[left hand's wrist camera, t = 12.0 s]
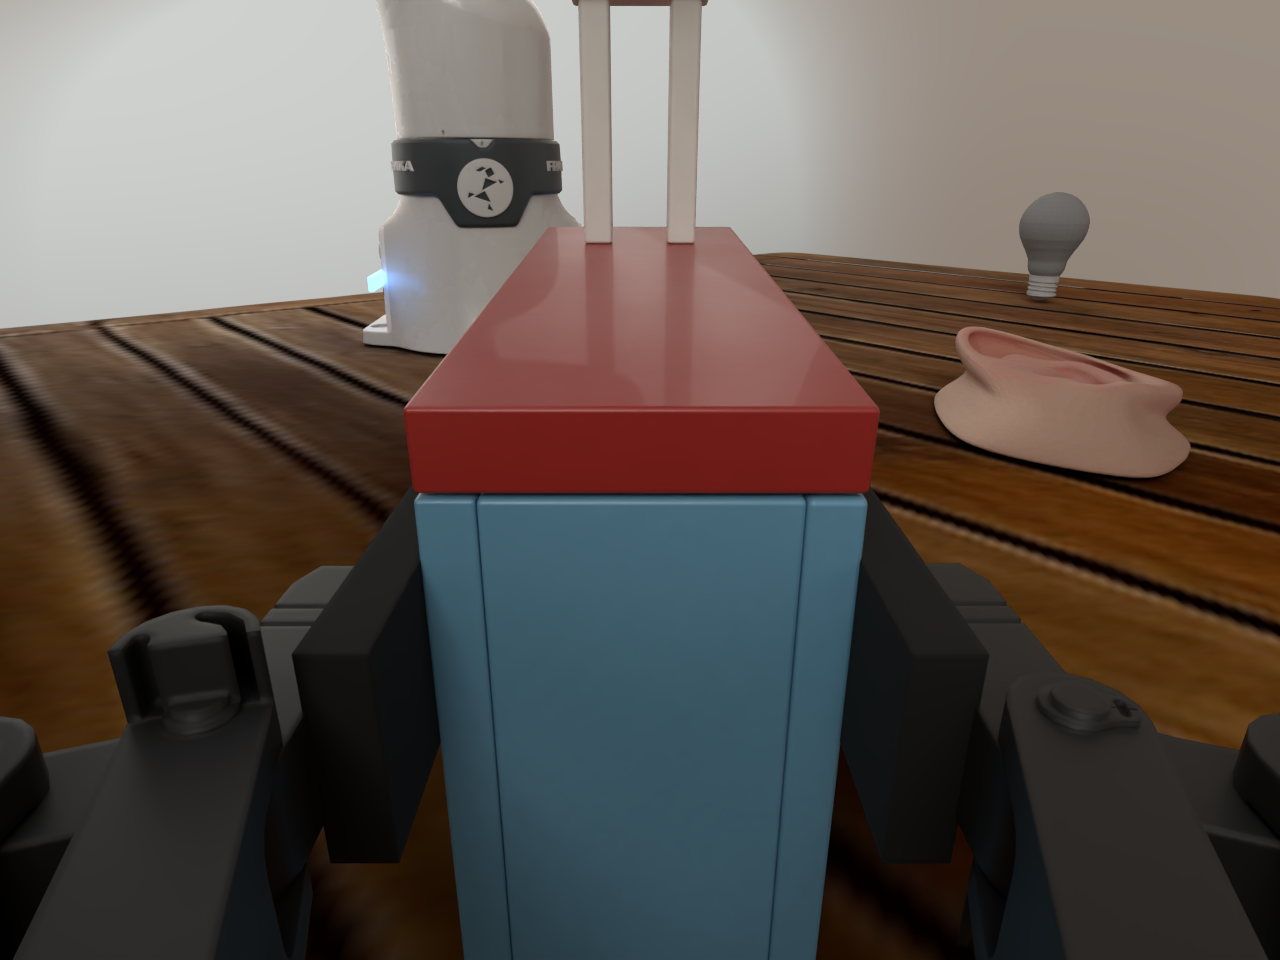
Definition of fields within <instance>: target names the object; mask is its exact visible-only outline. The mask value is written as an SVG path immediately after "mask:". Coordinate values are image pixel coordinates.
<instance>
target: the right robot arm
mask: <svg viewBox="0 0 1280 960" xmlns="http://www.w3.org/2000/svg"><path fill="white" fill-rule="evenodd" d="M374 3H375V6H376V9H377V13H378V16H379V20H380V25H381V29H382V34H383V40H384V46H385V51H386V57H387V64H388V71H389V77H390V84H391V92H392V100H393V108H394V116H395V125H396V134H397V139H398V140H395V141H393V143H392V144H391V145H392V161H391V167H392V171H393V173H394V183H395V191H396V192H397V193H398V194H401V196H400V200H399V203H398V205H397V207H396V210H395V211H394V213H393V214H392V215H391V216H390V217H389V218H388V219H387V220H386V221H385V223H384V225H383V226H381V227H380V228H379V241H380V244H379V254H380V258H381V265H382V269H381V270H379V271H378V272H376V273H374V274H372V275H371V276H369V277H368V278H367V279H368V287H369V292H374V291H376V290H377V289H378V288H380V287H381V286H383V293H384V299H385V310H386V314H385V315H383V316H382V317H381V318H379V319H378V320H376V321H375V322H373V323H372V324H370V325H369V326H368V327H366V328H365V329H364V330H363V343H365V344H371V345H383V346H395V347H401V348H405V349H409V350H414V351H420V352H428V353H438V354H448V353H449V351H450V350H451V349H452V348H453V346H454V345H455V344H456V343H457V341H458V340H459V339H460V338H461V336H462V335H463V334H464V333H465V331H466V330H467V329H468V328H469V326H470V325H471V324H472V323H473V321H474V320H475V319H476V318H477V316H478V315H479V314H480V313H481V311H482V310H483V309H484V308H485V306H486V305H487V304H488V303H489V301H490V300H491V299H492V298H493V296H494V295H495V294H496V293H497V291H498V290H499V289H500V288H501V286H502V285H503V284H504V283H505V281H506V280H507V279H508V278H509V276H510V275H511V274H512V273H513V271H514V270H515V269H516V268H517V266H518V265H519V264H520V263H521V261H522V260H523V259H524V258H525V256H526V255H527V254H528V253H529V251H530V250H531V249H532V248H533V246H534V245H535V244H536V243H537V241H538V240H539V239H540V238H541V236H542V235H543V234H544V233H545V231H546V230H547V229H548V228H549V227H582V226H581V224H580V223H578V222H577V221H576V219H575V218H574V217H572V216H571V215H570V214H569V213H568V212H567V211H566V210H565V208H564V207H563V206H562V204H561V202H560V200H559V197H558V193H560V192H561V191H562V179H561V171H562V170H563V169H562V161H561V159H560V146H559V144H558V143H557V142H556V141H552V140H554V133H553V106H552V78H551V50H550V36H549V32H548V29H547V26H546V23H545V20H544V18H543V16H542V14H541V13H540V11H539V9H538V8H537V6H536V5H535V4H534V3H533V1H532V0H374Z"/></svg>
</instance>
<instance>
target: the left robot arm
mask: <svg viewBox="0 0 1280 960" xmlns="http://www.w3.org/2000/svg"><path fill="white" fill-rule="evenodd" d="M862 494H863V496H864V497H865V499H866V501H867V504H868V507H867V516H866V524H865V533H864V542H863V550H862V558H861V560H860V568H859V576H858V585H857V594H856V603H855V612H854V621H853V630H852V639H851V647H850V656H849V665H848V674H847V683H846V692H845V701H844V710H843V718H842V727H841V736H840V743H841V746H842V749H843V751H844V754H845V757H846V760H847V763H848V766H849V769H850V772H851V775H852V778H853V780H854V783H855V786H856V789H857V792H858V795H859V798H860V801H861V804H862V807H863V809H864V812H865V815H866V818H867V821H868V824H869V827H870V830H871V833H872V836H873V838H874V841H875V844H876V847H877V850H878V853H879V856H880V859H881V862H882V863H950V862H951V857H952V851H953V846H954V841H955V835H956V830H957V825H958V823H959V825H960V827H961V829H962V831H963V833H964V835H965V837H966V839H967V842H968V844H969V846H970V848H971V850H972V852H973V854H974V857H973V862H972V867H971V872H970V877H969V882H968V887H967V892H966V897H965V902H964V907H963V912H962V917H961V922H960V927H959V933H958V940H957V945H962V946H966V947H968V943H969V939H970V934H971V930H972V936H973V944H974V952H975V960H1280V713H1279V714H1271V715H1262V716H1260V717H1259V718H1257V719H1256V720H1254V721H1253V722H1252V723H1250V724H1249V725H1248V728H1247V731H1246V734H1245V737H1244V740H1243V743H1242V746H1241V749H1240V750H1236V749H1231V748H1226V747H1221V746H1216V745H1211V744H1206V743H1201V742H1196V741H1191V740H1186V739H1181V738H1175V737H1171V736H1168V735H1164V734H1160V733H1157V731H1156V728H1155V726H1154V724H1153V722H1152V721H1151V720H1150V718H1149V717H1148V716H1147V715H1146V713H1145V712H1144V711H1143V710H1142V708H1141V707H1140V706H1139V705H1138V704H1136V703H1135V702H1133V701H1132V700H1130V699H1129V698H1128V697H1126V696H1125V695H1123V694H1122V693H1120V692H1119V691H1117V690H1115V689H1113V688H1110V687H1108V686H1106V685H1104V684H1101V683H1099V682H1097V681H1094V680H1092V679H1088V678H1084V677H1080V676H1076V675H1072V674H1067V673H1065V671H1064V670H1063V669H1062V668H1061V667H1060V665H1059V664H1058V663H1057V662H1056V661H1055V660H1054V658H1053V657H1052V656H1051V655H1050V654H1049V652H1048V651H1047V650H1046V649H1045V648H1044V646H1043V645H1042V644H1041V643H1040V642H1039V640H1038V639H1037V638H1036V637H1035V636H1034V634H1033V633H1032V632H1031V631H1030V630H1029V628H1028V627H1027V626H1026V625H1025V624H1024V623H1021V619H1020V618H1019V616H1018V615H1017V614H1016V613H1015V612H1014V610H1013V609H1012V608H1011V607H1010V606H1007V605H1006V601H1005V600H1004V598H1003V597H1002V596H1001V595H1000V594H999V592H998V591H997V590H996V589H995V588H994V586H993V585H992V584H991V583H990V582H989V581H988V580H986V579H985V578H983V577H981V576H980V575H978V574H976V573H975V572H973V571H971V570H970V569H968V568H966V567H965V566H963V565H961V564H960V563H924V561H923V560H922V559H921V557H920V556H919V554H918V553H917V552H916V550H915V549H914V547H913V546H912V545H911V543H910V542H909V540H908V539H907V537H906V536H905V535H904V533H903V532H902V530H901V529H900V528H899V526H898V525H897V523H896V522H895V521H894V519H893V518H892V516H891V515H890V514H889V512H888V511H887V509H886V508H885V507H884V505H883V504H882V502H881V501H880V499H879V498H878V497H877V495H876V494H875V492H874V491H873V490H872V488H871V487H870V489H869V491H868V492H867V493H862ZM418 495H419V493H416V492H415V491H414V489H413V484H412V485H411V487H410V488H409V489H408V491H407V492H406V494H405V495H404V496H403V498H402V499H401V501H400V502H399V503H398V505H397V506H396V508H395V509H394V511H393V512H392V513H391V515H390V516H389V518H388V519H387V520H386V522H385V523H384V525H383V526H382V527H381V529H380V530H379V532H378V533H377V534H376V536H375V537H374V539H373V540H372V542H371V543H370V544H369V546H368V547H367V549H366V550H365V551H364V553H363V554H362V556H361V557H360V558H359V560H358V561H357V563H356V564H355V565H354V566H321V567H319V568H317V569H316V570H314V571H313V572H311V573H309V574H308V575H306V576H304V577H303V578H301V579H299V580H298V581H296V582H294V583H293V584H292V585H291V586H290V587H289V588H288V590H287V591H286V592H285V593H284V594H283V596H282V597H281V598H280V599H279V600H278V602H277V603H276V604H275V609H271V610H270V611H269V613H268V614H267V615H266V616H265V617H264V619H263V620H262V621H261V626H260V624H259V619H258V617H256V616H255V615H254V614H252V613H251V612H249V611H248V610H247V609H243V608H238V607H233V606H228V605H220V606H199V607H194V608H190V609H185V610H180V611H175V612H171V613H168V614H166V615H163V616H160V617H158V618H155V619H152V620H149V621H147V622H144V623H143V624H141V625H139V626H137V627H136V628H134V629H132V630H131V631H129V632H127V633H126V634H124V635H122V636H121V637H120V638H119V639H118V640H117V641H116V642H115V643H114V644H113V645H112V646H111V647H110V648H109V650H108V651H107V652H108V655H109V659H110V662H111V666H112V669H113V673H114V676H115V680H116V683H117V687H118V690H119V694H120V697H121V701H122V704H123V708H124V711H125V715H126V718H127V722H128V724H127V726H126V728H125V730H124V732H123V734H122V736H121V737H119V738H116V739H112V740H108V741H103V742H98V743H93V744H88V745H83V746H78V747H73V748H68V749H63V750H58V751H53V752H48V753H43V754H42V751H41V748H40V745H39V742H38V739H37V737H36V734H35V731H34V728H33V727H31V726H30V725H29V724H27V723H26V722H24V721H23V720H22V719H16V718H7V717H0V960H305V954H306V946H307V938H308V929H309V921H310V913H311V904H312V896H313V891H312V884H311V877H310V872H309V867H308V862H307V858H308V856H309V854H310V852H311V850H312V848H313V845H314V843H315V841H316V839H317V837H318V835H319V833H320V831H321V829H322V827H323V825H324V831H325V836H326V841H327V847H328V852H329V857H330V863H399V861H400V858H401V855H402V852H403V850H404V847H405V844H406V841H407V838H408V835H409V832H410V829H411V826H412V823H413V821H414V818H415V815H416V812H417V809H418V806H419V803H420V800H421V797H422V794H423V792H424V789H425V786H426V783H427V780H428V777H429V774H430V771H431V768H432V765H433V762H434V760H435V757H436V754H437V751H438V748H439V745H440V742H441V741H440V732H439V723H438V714H437V705H436V696H435V687H434V678H433V668H432V659H431V650H430V641H429V632H428V623H427V614H426V605H425V596H424V587H423V578H422V569H421V560H420V553H419V544H418V535H417V526H416V517H415V508H414V501H415V499H416V498H417V496H418Z"/></svg>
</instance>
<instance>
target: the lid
mask: <svg viewBox="0 0 1280 960" xmlns="http://www.w3.org/2000/svg"><path fill="white" fill-rule="evenodd" d="M572 2H573V4H574V5H576V6H578V10H579V47H580V86H581V124H582V163H583V201H584V227H549V228H548V229H547V230H546V231H545V233H544V234H543V235H542V236H541V238H540V239H539V240H538V241H537V243H536V244H535V245H534V246H533V248H532V249H531V250H530V251H529V253H528V254H527V255H526V256H525V258H524V259H523V260H522V261H521V263H520V264H519V265H518V266H517V268H516V269H515V270H514V271H513V273H512V274H511V275H510V276H509V278H508V279H507V280H506V281H505V283H504V284H503V285H502V286H501V288H500V289H499V290H498V291H497V293H496V294H495V295H494V296H493V298H492V299H491V300H490V301H489V303H488V304H487V305H486V306H485V308H484V309H483V310H482V311H481V313H480V314H479V315H478V316H477V318H476V319H475V320H474V321H473V323H472V324H471V325H470V326H469V328H468V329H467V330H466V331H465V333H464V334H463V335H462V336H461V338H460V339H459V340H458V341H457V343H456V344H455V345H454V346H453V348H452V349H451V350H450V351H449V353H448V354H447V355H446V356H445V358H444V359H443V360H442V361H441V363H440V364H439V365H438V366H437V368H436V369H435V370H434V371H433V373H432V374H431V375H430V376H429V378H428V379H427V380H426V381H425V383H424V384H423V385H422V386H421V388H420V389H419V390H418V391H417V393H416V394H415V395H414V396H413V398H412V399H411V400H410V401H409V403H408V404H407V405H406V406H405V408H404V411H403V413H404V421H405V429H406V436H407V444H408V452H409V460H410V468H411V476H412V483H413V489H414V491H415V492H416V493H867V492H868V491H869V489H870V482H871V474H872V467H873V459H874V452H875V444H876V437H877V429H878V421H879V414H880V411H879V408H878V407H877V405H876V404H875V403H874V402H873V400H872V399H871V398H870V397H869V396H868V394H867V393H866V392H865V391H864V390H863V388H862V387H861V386H860V385H859V383H858V382H857V381H856V380H855V379H854V377H853V376H852V375H851V374H850V373H849V371H848V370H847V369H846V368H845V366H844V365H843V364H842V363H841V362H840V360H839V359H838V358H837V357H836V356H835V354H834V353H833V352H832V351H831V349H830V348H829V347H828V346H827V345H826V343H825V342H824V341H823V340H822V339H821V337H820V336H819V335H818V334H817V332H816V331H815V330H814V329H813V328H812V326H811V325H810V324H809V323H808V321H807V320H806V319H805V318H804V317H803V315H802V314H801V313H800V312H799V311H798V309H797V308H796V307H795V306H794V304H793V303H792V302H791V301H790V300H789V298H788V297H787V296H786V295H785V294H784V292H783V291H782V290H781V289H780V287H779V286H778V285H777V284H776V283H775V281H774V280H773V279H772V278H771V277H770V275H769V274H768V273H767V272H766V270H765V269H764V268H763V267H762V266H761V264H760V263H759V262H758V261H757V260H756V258H755V257H754V256H753V255H752V253H751V252H750V251H749V250H748V249H747V247H746V246H745V245H744V244H743V243H742V241H741V240H740V239H739V238H738V236H737V235H736V234H735V233H734V232H733V230H732V229H731V228H730V227H695V217H696V183H697V148H698V113H699V80H700V45H701V10H702V6H705V5H707V2H708V0H572ZM610 6H670V41H669V109H668V178H667V227H613V220H612V139H611V54H610Z"/></svg>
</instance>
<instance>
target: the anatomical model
mask: <svg viewBox="0 0 1280 960" xmlns="http://www.w3.org/2000/svg"><path fill="white" fill-rule="evenodd" d="M956 349H957V353H958V355H959V357H960V359H961V361H962V363H963V364H964V366H965V369H966V371H965V373H964V374H963V375H962V376H961V377H959V378H958V379H956V380H954V381H953V382H951V383H949V384H948V385H946V386H945V387H944V388H942V389H941V390H940V391H939V392H938V393H937V395H936V396H935V400H934V405H935V409H936V412H937V414H938V416H939V418H940V419H941V421H942V423H943V424H944V425H945V427H946V428H947V429H948V430H949V431H950V432H951V433H952V434H954V435H955V436H956V437H958V438H959V439H961V440H962V441H964V442H966V443H968V444H971V445H973V446H975V447H978V448H981V449H984V450H987V451H990V452H994V453H998V454H1001V455H1005V456H1009V457H1013V458H1017V459H1021V460H1026V461H1030V462H1035V463H1040V464H1045V465H1050V466H1055V467H1060V468H1066V469H1072V470H1077V471H1083V472H1089V473H1096V474H1103V475H1110V476H1118V477H1128V478H1150V477H1157V476H1161V475H1164V474H1166V473H1168V472H1170V471H1172V470H1173V469H1175V468H1176V467H1177V466H1178V465H1180V464H1181V463H1182V462H1183V461H1185V459H1186V458H1187V457H1188V454H1189V451H1190V448H1191V447H1190V444H1189V442H1188V440H1187V439H1186V438H1185V437H1184V436H1183V435H1182V434H1181V433H1180V432H1179V431H1177V430H1176V429H1175V428H1174V427H1173V426H1172V425H1171V424H1170V423H1169V422H1168V421H1167V420H1166V415H1167V414H1168V413H1169V412H1170V411H1171V410H1172V409H1174V408H1175V407H1176V406H1177V405H1178V404H1179V403H1180V401H1181V399H1182V395H1183V392H1182V389H1181V388H1180V387H1179V386H1177V385H1175V384H1173V383H1170V382H1168V381H1165V380H1162V379H1159V378H1155V377H1152V376H1149V375H1145V374H1142V373H1139V372H1135V371H1132V370H1129V369H1126V368H1123V367H1120V366H1117V365H1114V364H1111V363H1108V362H1105V361H1102V360H1099V359H1096V358H1093V357H1090V356H1087V355H1084V354H1080V353H1077V352H1073V351H1070V350H1066V349H1062V348H1059V347H1055V346H1052V345H1048V344H1045V343H1041V342H1038V341H1034V340H1031V339H1027V338H1024V337H1020V336H1017V335H1013V334H1009V333H1006V332H1002V331H998V330H993V329H988V328H982V327H967V328H964V329H962V330H960V331H959V332H958V334H957V336H956Z"/></svg>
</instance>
